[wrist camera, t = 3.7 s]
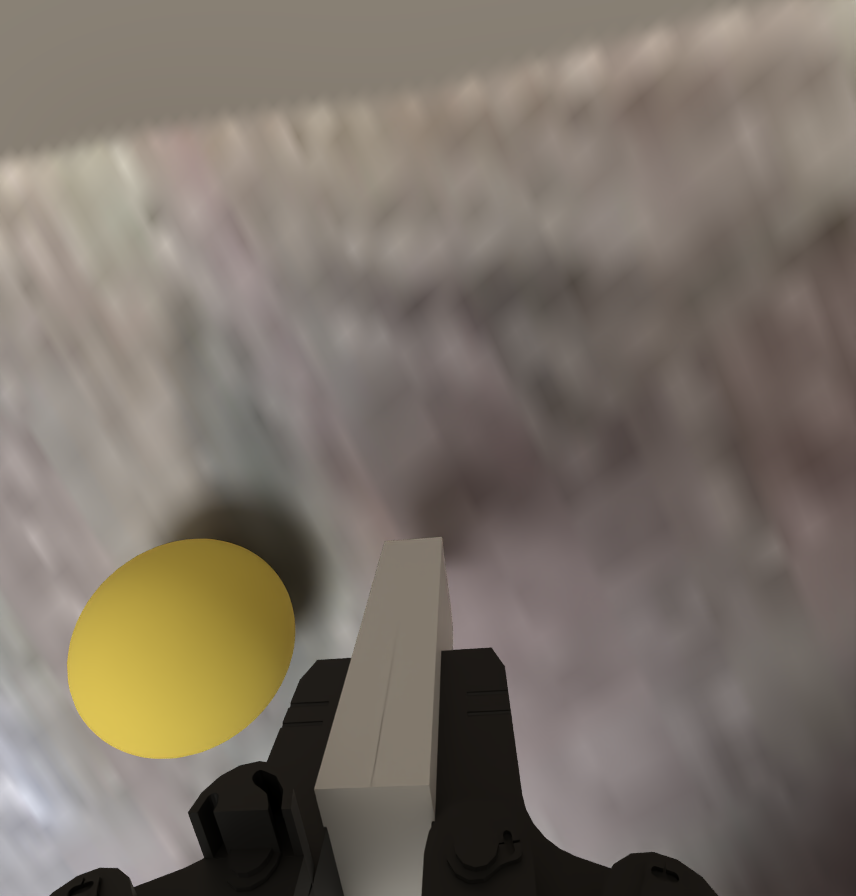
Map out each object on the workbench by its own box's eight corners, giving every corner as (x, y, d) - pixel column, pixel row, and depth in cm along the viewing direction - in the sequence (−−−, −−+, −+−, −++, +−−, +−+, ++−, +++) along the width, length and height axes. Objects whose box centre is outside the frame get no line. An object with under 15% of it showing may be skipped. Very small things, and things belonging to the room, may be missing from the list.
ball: (298, 499, 15) (207, 605, 10) (333, 648, 16) (272, 811, 11) (134, 517, 15) (-36, 626, 10) (183, 659, 17) (55, 819, 12)
